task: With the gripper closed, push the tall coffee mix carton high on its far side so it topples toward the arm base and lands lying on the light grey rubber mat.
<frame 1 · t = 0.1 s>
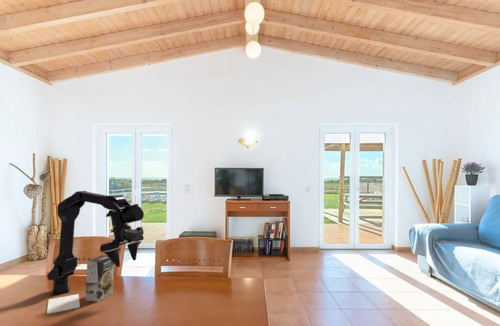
hand: (126, 263, 118), 15 cm above the table, tool pointing down, fingers open, 9 cm apart
coffee box: (99, 297, 122), on the table
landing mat: (63, 303, 115), on the table
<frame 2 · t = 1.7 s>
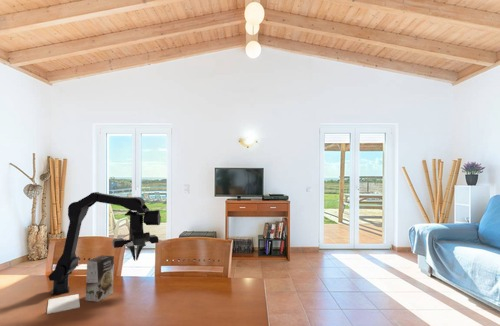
hand: (135, 260, 130), 13 cm above the table, tool pointing down, fingers closed
nothing on the table moved.
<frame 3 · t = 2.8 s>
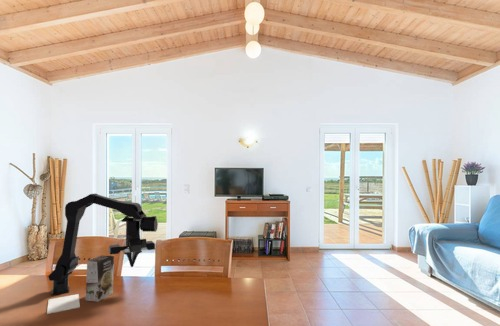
hand: (131, 266, 129), 10 cm above the table, tool pointing down, fingers closed
nothing on the table moved.
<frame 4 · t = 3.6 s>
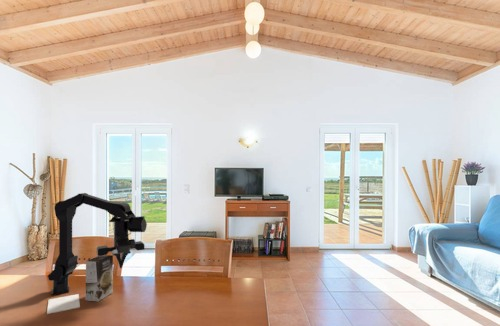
hand: (120, 267, 127), 11 cm above the table, tool pointing down, fingers closed
coffee box: (99, 296, 122), on the table, touching gripper
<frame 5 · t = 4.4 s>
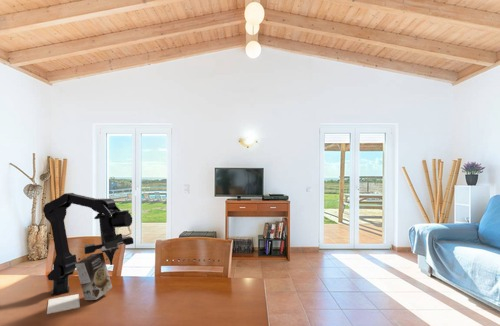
hand: (111, 264, 124), 13 cm above the table, tool pointing down, fingers closed
coffee box: (99, 294, 122), point 1 cm above the table, touching gripper
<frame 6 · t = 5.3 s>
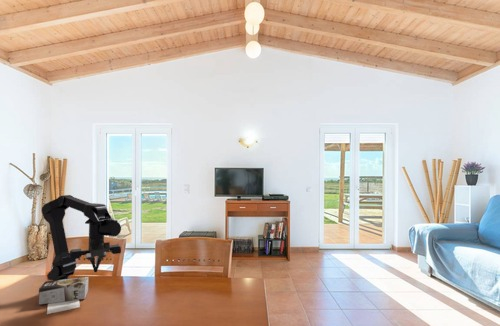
hand: (95, 272, 121), 10 cm above the table, tool pointing down, fingers closed
coffee box: (87, 287, 123), point 3 cm above the table, touching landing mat
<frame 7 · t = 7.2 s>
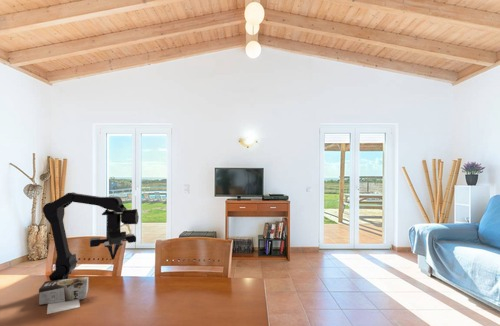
hand: (112, 259, 131), 13 cm above the table, tool pointing down, fingers closed
nothing on the table moved.
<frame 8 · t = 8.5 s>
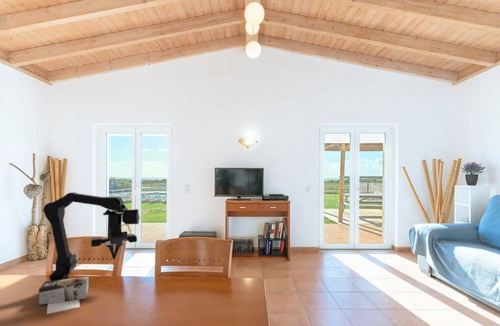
hand: (113, 259, 132), 13 cm above the table, tool pointing down, fingers closed
nothing on the table moved.
at the end: coffee box tilted 90°; coffee box touching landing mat; the gripper is holding nothing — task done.
